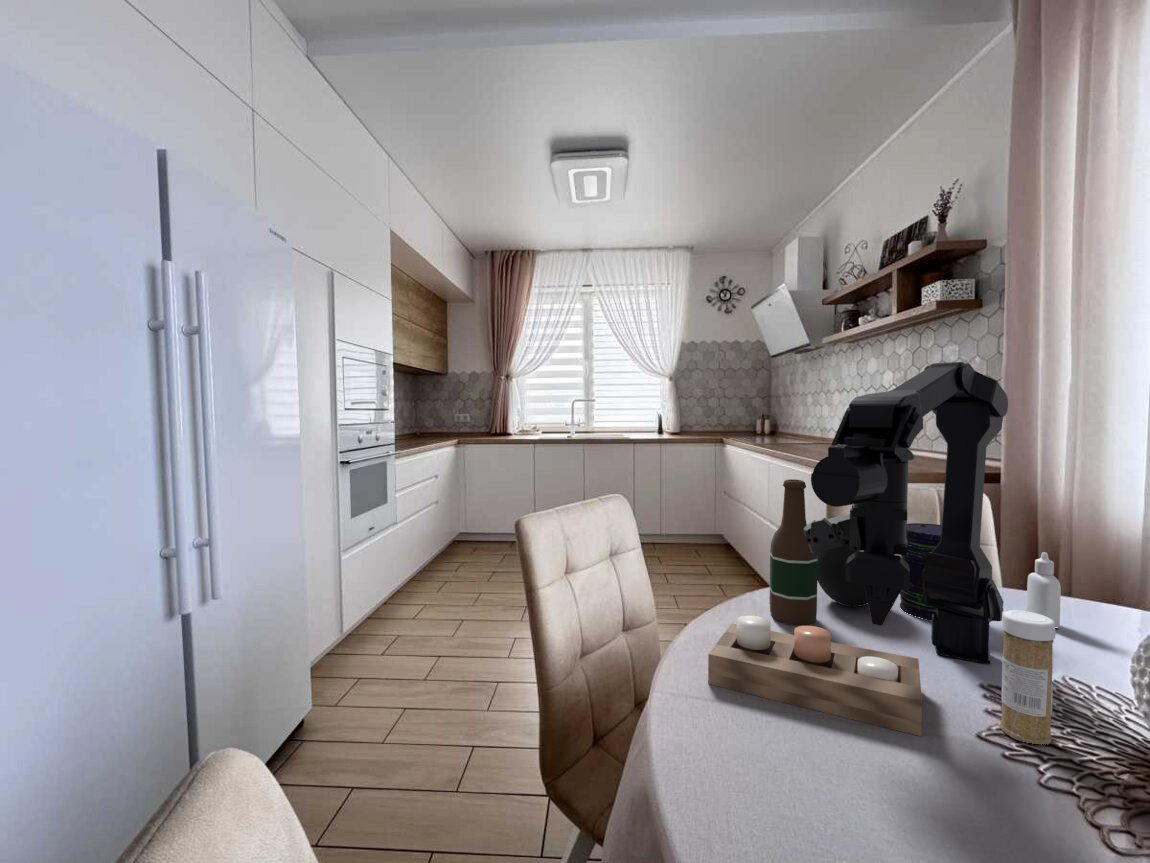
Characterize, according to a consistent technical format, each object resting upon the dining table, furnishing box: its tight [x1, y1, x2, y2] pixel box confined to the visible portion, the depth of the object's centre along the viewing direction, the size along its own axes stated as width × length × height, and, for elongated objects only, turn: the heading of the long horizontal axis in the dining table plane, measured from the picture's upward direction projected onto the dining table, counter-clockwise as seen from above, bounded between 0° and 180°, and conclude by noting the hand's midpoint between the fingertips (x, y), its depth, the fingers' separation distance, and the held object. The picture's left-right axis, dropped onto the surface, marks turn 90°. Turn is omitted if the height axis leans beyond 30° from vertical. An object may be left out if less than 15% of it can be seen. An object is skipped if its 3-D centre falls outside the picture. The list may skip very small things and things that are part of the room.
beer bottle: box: [769, 478, 818, 626], centre depth 96 cm, size 8×8×24 cm
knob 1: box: [736, 615, 772, 650], centre depth 77 cm, size 4×4×3 cm
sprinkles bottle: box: [999, 610, 1056, 746], centre depth 62 cm, size 5×5×14 cm
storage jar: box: [899, 522, 942, 621], centre depth 99 cm, size 10×10×15 cm
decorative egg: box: [817, 544, 868, 607], centre depth 103 cm, size 12×12×15 cm
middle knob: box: [793, 625, 832, 662], centre depth 73 cm, size 4×4×3 cm
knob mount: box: [707, 623, 923, 737], centre depth 73 cm, size 24×12×4 cm, turn 60°
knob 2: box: [857, 656, 898, 682], centre depth 69 cm, size 4×4×3 cm
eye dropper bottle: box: [1026, 551, 1062, 628], centre depth 94 cm, size 4×6×12 cm
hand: (877, 624), depth 69 cm, fingers closed
